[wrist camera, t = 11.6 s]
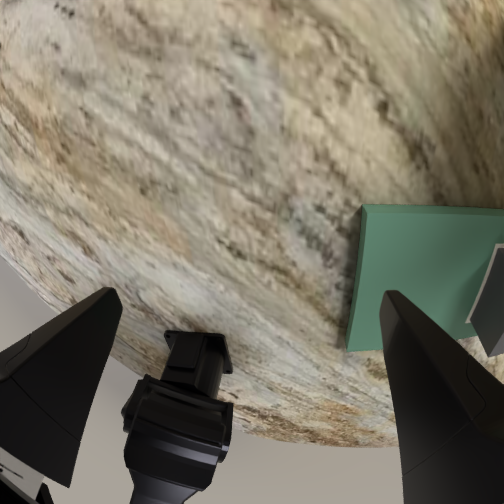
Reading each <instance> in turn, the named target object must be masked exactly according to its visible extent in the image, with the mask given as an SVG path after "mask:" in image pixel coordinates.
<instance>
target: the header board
mask: <svg viewBox="0 0 504 504" xmlns="http://www.w3.org/2000/svg"><path fill="white" fill-rule="evenodd" d="M498 248H504V209H492V208H476V207H457V206H431V205H374V204H362V217H361V230H360V240H359V250H358V259H357V268H356V276H355V283H354V290H353V297H352V304H351V310H350V316H349V322H348V327H347V333H346V338H345V343H346V350H347V352H354V351H368V350H380V349H383V343H382V335H381V327H380V319H379V310H380V306H381V302H382V298H383V294H384V292H385V291H386V290H398V291H400V292H401V293H402V294H403V295H404V296H406V297H407V298H408V299H409V300H410V301H411V302H413V303H414V304H415V305H416V306H417V307H418V308H420V309H421V310H422V311H423V312H424V313H425V314H426V315H428V316H429V317H430V318H431V319H432V320H433V321H434V322H436V323H437V324H438V325H439V326H440V327H441V328H442V329H443V330H444V331H446V332H447V333H448V334H449V335H450V336H451V337H452V338H453V339H454V340H457V339H462V338H468V337H473V336H478V335H477V333H476V331H475V329H474V327H473V325H472V324H471V322H470V318H471V316H472V313H473V311H474V309H475V307H476V305H477V302H478V300H479V298H480V295H481V293H482V291H483V288H484V286H485V283H486V280H487V278H488V275H489V272H490V270H491V267H492V264H493V261H494V258H495V255H496V252H497V249H498Z"/></svg>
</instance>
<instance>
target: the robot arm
mask: <svg viewBox="0 0 504 504" xmlns="http://www.w3.org/2000/svg"><path fill="white" fill-rule="evenodd" d="M122 311H123V306H122V303H121V301H120V299H119V296H118V294H117V292H116V290H115V289H114V288H112V287H103V288H102V289H100V290H98V291H97V292H95V293H93V294H92V295H90V296H88V297H87V298H85V299H83V300H82V301H80V302H79V303H77V304H75V305H74V306H72V307H71V308H69V309H67V310H66V311H64V312H63V313H61V314H60V315H58V316H56V317H55V318H53V319H52V320H50V321H49V322H47V323H45V324H44V325H42V326H41V327H39V328H38V329H36V330H35V331H33V332H32V334H29V335H27V336H26V337H24V338H23V339H21V340H20V341H18V342H16V343H15V344H13V345H12V346H10V347H8V348H7V349H5V350H3V351H2V352H0V504H54V503H53V500H52V498H51V495H50V493H49V489H48V486H47V485H46V484H45V483H43V482H42V481H43V478H44V476H46V477H48V478H50V479H52V480H53V481H56V482H57V483H59V484H61V485H63V486H65V487H67V488H69V487H70V484H71V479H72V475H73V471H74V466H75V463H76V458H77V454H78V450H79V447H80V443H81V442H80V441H81V439H82V435H83V432H84V428H85V425H86V421H87V418H88V415H89V411H90V408H91V405H92V402H93V399H94V396H95V393H96V390H97V387H98V384H99V381H100V378H101V376H102V373H103V370H104V367H105V364H106V362H107V359H108V356H109V354H110V351H111V348H112V345H113V342H114V338H115V335H116V331H117V328H118V324H119V321H120V318H121V314H122ZM379 319H380V327H381V335H382V343H383V353H384V360H385V365H386V370H387V375H388V380H389V385H390V390H391V396H392V401H393V407H394V413H395V419H396V426H397V433H398V441H399V449H400V458H401V468H402V482H403V497H404V504H504V384H502V383H501V382H500V381H499V380H498V379H497V378H495V377H494V376H493V375H492V374H491V373H490V372H488V371H487V370H486V369H485V368H484V367H483V366H482V365H481V364H480V363H479V362H478V361H477V360H476V359H475V358H473V357H472V356H471V355H470V354H469V353H468V352H467V351H466V350H465V349H464V348H463V347H462V346H461V345H460V344H459V343H458V342H456V341H455V340H454V339H453V338H452V337H451V336H450V335H449V334H448V333H447V332H446V331H444V330H443V329H442V328H441V327H440V326H439V325H438V324H437V323H436V322H434V321H433V320H432V319H431V318H430V317H429V316H428V315H426V314H425V313H424V312H423V311H422V310H421V309H420V308H418V307H417V306H416V305H415V304H414V303H413V302H411V301H410V300H409V299H408V298H407V297H406V296H404V295H403V294H402V293H401V292H400V291H398V290H386V291H385V292H384V294H383V298H382V302H381V306H380V310H379ZM164 337H165V339H166V342H167V344H168V346H169V348H170V354H169V356H168V359H167V362H166V366H165V368H164V371H163V373H162V376H161V379H160V380H158V379H155V378H153V377H151V376H150V375H148V374H145V376H144V378H143V379H142V380H138V382H137V384H136V386H135V389H134V391H133V393H132V395H131V396H130V398H129V399H128V401H127V402H126V404H125V405H124V407H123V408H122V411H121V414H122V416H123V418H124V422H123V423H124V427H123V431H124V432H126V433H128V437H127V441H126V444H125V448H124V460H125V464H126V467H127V468H128V469H129V472H130V474H131V478H132V480H133V483H134V490H133V493H132V497H131V500H130V504H184V502H185V501H186V500H187V499H188V498H190V497H191V496H193V495H194V494H195V493H196V492H198V491H204V490H205V489H206V488H207V487H208V486H209V485H210V484H211V482H212V478H213V475H214V472H215V469H216V465H217V462H218V463H222V462H223V460H224V459H225V457H226V454H227V452H228V449H229V445H230V441H231V433H232V432H231V431H232V419H233V403H230V402H224V401H220V400H217V395H218V390H219V386H220V381H221V377H222V374H232V373H233V367H232V363H231V359H230V355H229V351H228V347H227V343H226V339H225V336H224V335H222V334H217V333H198V332H183V331H169V330H167V331H165V333H164Z"/></svg>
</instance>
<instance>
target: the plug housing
mask: <svg viewBox="0 0 504 504" xmlns="http://www.w3.org/2000/svg"><path fill="white" fill-rule="evenodd" d="M470 322H471V324H472V325H473V327H474V329H475V331H476V333H477V335H478V337H479V339H480V341H481V343H482V345H483V348H484V350H485V352H486V354H487V356H488V357H492V356H496V355H499V354H503V353H504V248H498V249H497V252H496V255H495V258H494V261H493V264H492V267H491V270H490V272H489V275H488V278H487V280H486V283H485V286H484V288H483V291H482V293H481V295H480V298H479V300H478V302H477V305H476V307H475V309H474V311H473V313H472V316H471V318H470Z"/></svg>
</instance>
